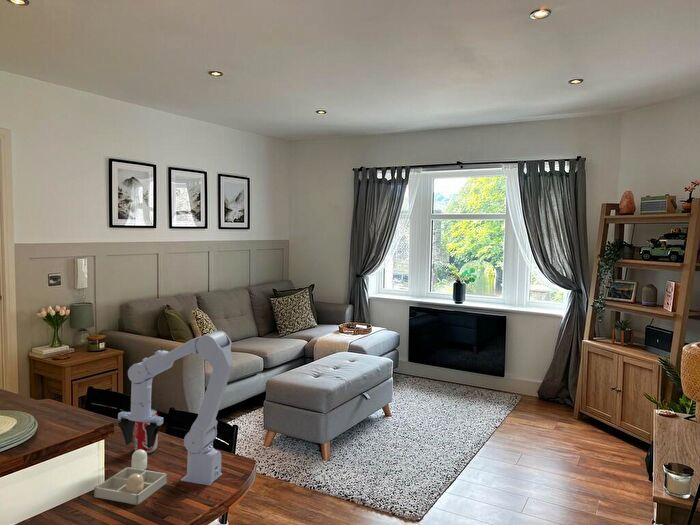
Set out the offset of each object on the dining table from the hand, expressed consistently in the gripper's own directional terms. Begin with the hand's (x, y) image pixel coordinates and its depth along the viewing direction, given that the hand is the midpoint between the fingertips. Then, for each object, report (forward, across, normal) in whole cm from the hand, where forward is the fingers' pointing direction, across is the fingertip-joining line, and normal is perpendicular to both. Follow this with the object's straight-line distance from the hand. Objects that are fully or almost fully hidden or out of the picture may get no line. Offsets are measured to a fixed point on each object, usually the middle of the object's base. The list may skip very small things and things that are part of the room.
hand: (139, 445), depth 156 cm
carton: (+8, -7, +12) cm, 16 cm away
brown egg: (+7, -10, +15) cm, 19 cm away
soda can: (+8, +7, -13) cm, 17 cm away
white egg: (+8, 0, 0) cm, 8 cm away
